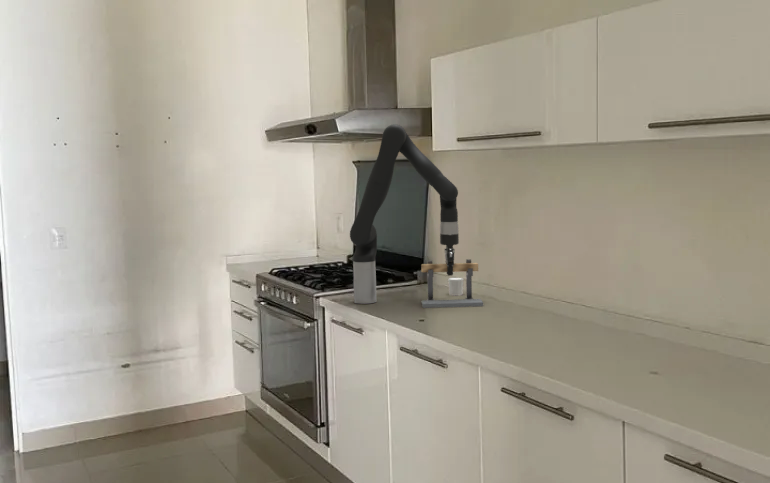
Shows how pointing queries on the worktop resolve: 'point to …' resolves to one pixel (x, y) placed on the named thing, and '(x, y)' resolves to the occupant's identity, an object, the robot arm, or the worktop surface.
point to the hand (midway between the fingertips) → (449, 274)
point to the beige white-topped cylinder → (455, 286)
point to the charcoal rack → (468, 281)
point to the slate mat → (451, 303)
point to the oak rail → (443, 267)
